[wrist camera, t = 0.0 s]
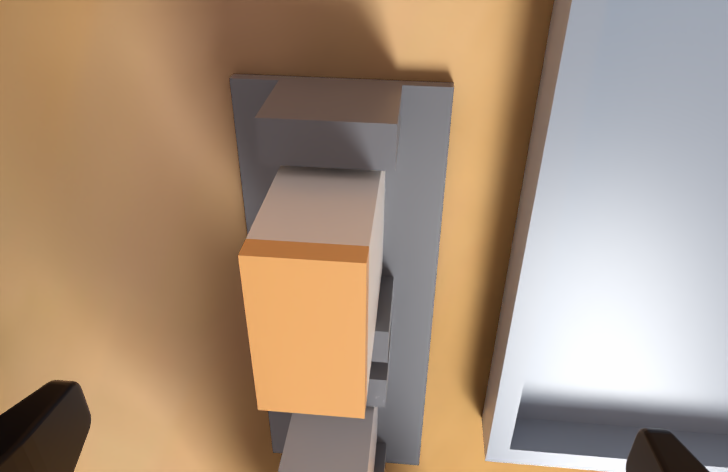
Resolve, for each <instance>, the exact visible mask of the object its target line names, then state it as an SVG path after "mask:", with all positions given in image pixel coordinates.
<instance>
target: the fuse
mask: <svg viewBox="0 0 728 472" xmlns="http://www.w3.org/2000/svg"><path fill="white" fill-rule="evenodd" d="M377 424H378V407H373V406H366V410H365V418H364V419H361V418H349V417H337V416H325V415H313V414H301V413H292V417H291V421H290V425H289V429H288V433H287V437H286V441H285V445H284V449H283V453H282V457H281V461H280V465H279V469H278V472H374V465H375V454H376V444H377Z"/></svg>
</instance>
